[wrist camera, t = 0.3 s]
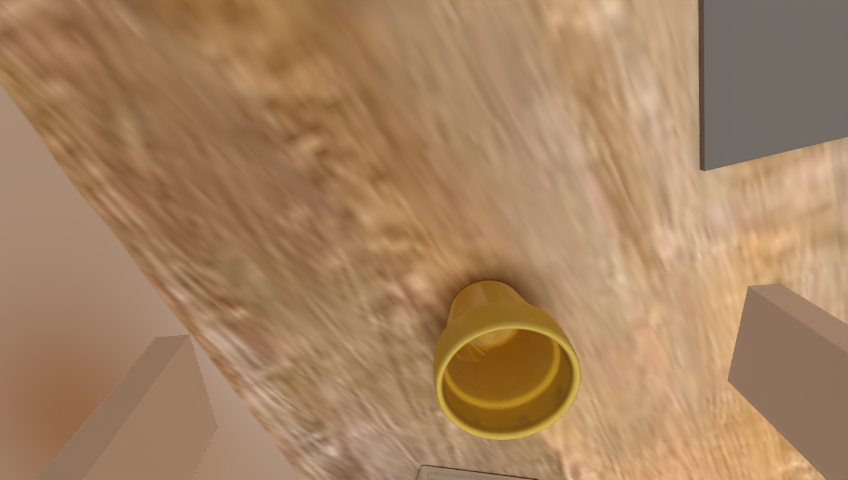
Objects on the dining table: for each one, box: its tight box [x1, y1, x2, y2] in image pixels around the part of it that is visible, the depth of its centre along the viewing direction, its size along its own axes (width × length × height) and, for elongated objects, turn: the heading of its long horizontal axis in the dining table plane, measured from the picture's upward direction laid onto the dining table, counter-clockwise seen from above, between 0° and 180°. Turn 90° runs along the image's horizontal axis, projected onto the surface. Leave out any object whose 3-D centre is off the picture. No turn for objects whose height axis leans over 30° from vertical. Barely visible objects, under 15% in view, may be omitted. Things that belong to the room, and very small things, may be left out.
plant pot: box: [434, 280, 581, 440], centre depth 37 cm, size 10×10×10 cm
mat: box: [699, 0, 848, 171], centre depth 33 cm, size 20×16×1 cm
